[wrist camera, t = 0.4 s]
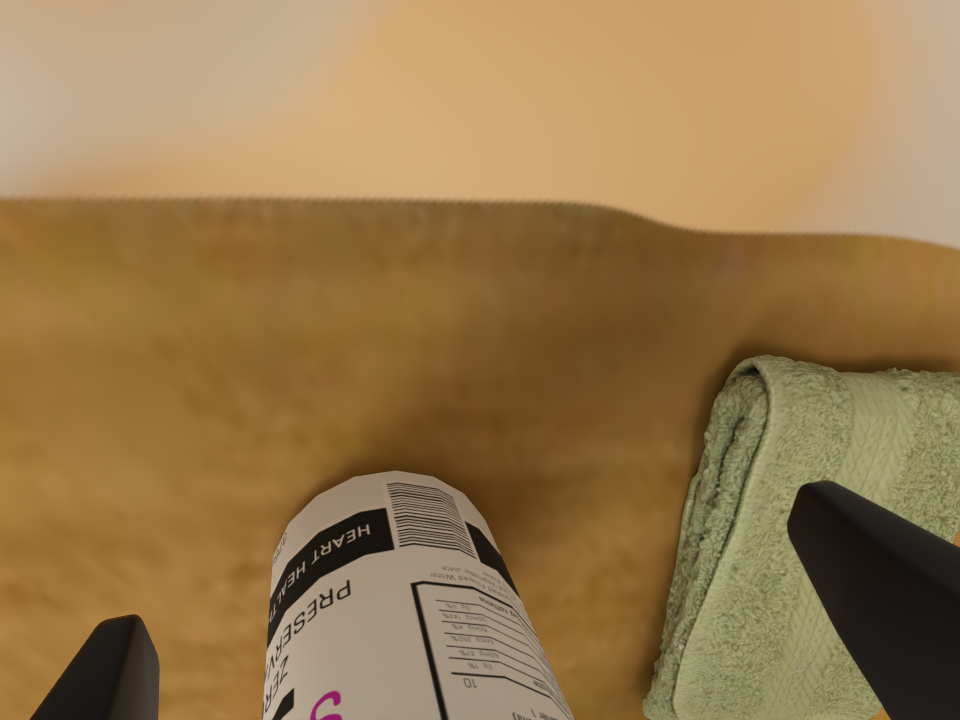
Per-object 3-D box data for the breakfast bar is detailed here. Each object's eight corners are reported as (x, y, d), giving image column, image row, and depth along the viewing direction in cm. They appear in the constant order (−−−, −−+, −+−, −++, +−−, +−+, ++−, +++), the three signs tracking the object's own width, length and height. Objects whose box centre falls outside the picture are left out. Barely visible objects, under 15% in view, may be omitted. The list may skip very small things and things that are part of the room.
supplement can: (493, 622, 29) (662, 1077, 15) (288, 665, 28) (274, 1216, 14) (482, 446, 26) (678, 810, 13) (255, 482, 25) (194, 945, 11)
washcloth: (623, 706, 33) (655, 766, 30) (711, 341, 27) (760, 369, 24) (857, 687, 36) (907, 739, 33) (976, 360, 31) (1048, 386, 28)
